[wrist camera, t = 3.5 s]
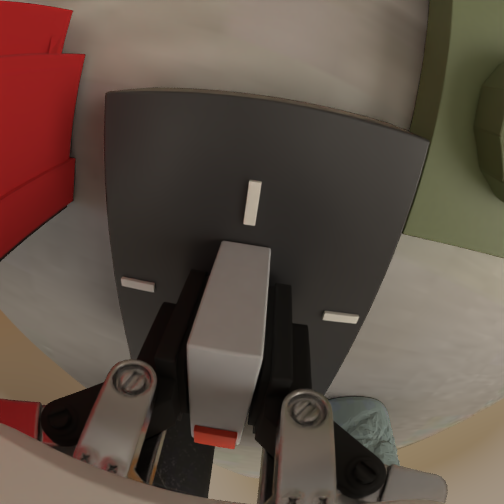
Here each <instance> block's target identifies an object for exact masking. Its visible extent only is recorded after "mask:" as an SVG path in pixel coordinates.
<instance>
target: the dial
mask: <svg viewBox="0 0 504 504" xmlns="http://www.w3.org/2000/svg"><path fill="white" fill-rule="evenodd" d="M270 256H271V249H270V248H266V247H260V246H254V245H248V244H241V243H235V242H229V241H222V242H221V245H220V248H219V250H218V253H217V256H216V259H215V262H214V265H213V268H212V270H211V273H210V276H209V279H208V282H207V285H206V288H205V291H204V294H203V297H202V300H201V303H200V305H199V308H198V311H197V314H196V317H195V320H194V323H193V326H192V329H191V333H190V336H189V339H188V342H187V373H188V393H189V409H190V423H191V435H192V437H194V442H195V443H200V444H206V445H211V446H217V447H223V448H229V449H234V448H235V445H239V443H240V440H241V436H242V433H243V429H244V426H245V422H246V419H247V415H248V411H249V408H250V404H251V401H252V397H253V393H254V390H255V386H256V382H257V379H258V375H259V371H260V367H261V364H262V360H263V352H264V339H265V326H266V313H267V300H268V286H269V271H270Z"/></svg>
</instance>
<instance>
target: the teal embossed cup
mask: <svg viewBox="0 0 504 504" xmlns="http://www.w3.org/2000/svg"><path fill="white" fill-rule="evenodd" d="M328 401H329V402H330V404H331V407H332V411H333V421H335V422H336V423H337V424H338V425H339V426H341V427H342V428H343V429H344V430H345V431H347V432H348V433H349V434H350V435H351V436H353V437H354V438H355V439H356V440H357V441H359V442H360V443H361V444H362V445H364V446H365V447H366V448H367V449H369V450H370V451H371V452H372V453H374V454H375V455H376V456H377V457H379V459H380V460H381V461H382V462H383V464H386V465H389V466H390V465H391V464H395V465H398V466H399V460H398V456H397V449H396V446H395V440H394V437H393V435H392V429H391V425H390V420H389V416H388V412H387V409H386V408H385V407H384V405H383V404H382V403H381V402H380V401H378V400H376V399H373V398H367V397H342V398H335V399H331V400H328Z"/></svg>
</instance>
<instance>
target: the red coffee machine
mask: <svg viewBox="0 0 504 504" xmlns="http://www.w3.org/2000/svg"><path fill="white" fill-rule="evenodd" d="M72 12H73V11H72V10H67V9H62V8H56V7H51V6H44V5H37V4H30V3H21V2H10V1H0V261H1V260H2V259H4V258H5V257H6V256H7V255H8V254H9V253H10V252H11V251H13V250H14V249H15V248H16V247H17V246H18V245H20V244H21V243H22V242H23V241H24V240H25V239H27V238H28V237H29V236H30V235H31V234H33V233H34V232H35V231H36V230H38V229H39V228H40V227H41V226H43V225H44V224H45V223H46V222H48V221H49V220H50V219H52V218H53V217H54V216H56V215H57V214H58V213H60V212H61V211H62V210H64V209H65V208H66V207H67V205H68V204H69V203H71V202H72V201H73V189H74V170H75V158H72V157H69V155H70V144H71V134H72V126H73V118H74V111H75V104H76V98H77V92H78V87H79V82H80V77H81V72H82V67H83V63H84V58H85V54H64V53H62V49H63V45H64V41H65V37H66V33H67V29H68V26H69V22H70V19H71V15H72Z"/></svg>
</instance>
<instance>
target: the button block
mask: <svg viewBox="0 0 504 504" xmlns="http://www.w3.org/2000/svg"><path fill="white" fill-rule="evenodd" d="M410 132H412V133H414V134H417V135H419V136H421V137H423V138H426V139H428V140H429V142H430V144H429V147H428V151H427V155H426V159H425V162H424V166H423V169H422V173H421V176H420V180H419V183H418V186H417V189H416V193H415V196H414V199H413V202H412V205H411V208H410V211H409V214H408V217H407V219H406V222H405V225H404V228H403V231H402V234H405V235H410V236H414V237H419V238H423V239H428V240H432V241H436V242H441V243H445V244H449V245H453V246H457V247H462V248H466V249H470V250H474V251H478V252H482V253H486V254H489V255H493V256H497V257H501V258H504V0H430V2H429V15H428V26H427V35H426V43H425V51H424V58H423V65H422V71H421V77H420V83H419V88H418V94H417V99H416V104H415V109H414V114H413V118H412V123H411V127H410Z"/></svg>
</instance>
